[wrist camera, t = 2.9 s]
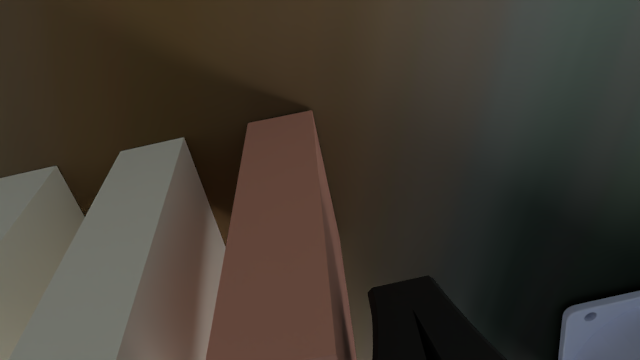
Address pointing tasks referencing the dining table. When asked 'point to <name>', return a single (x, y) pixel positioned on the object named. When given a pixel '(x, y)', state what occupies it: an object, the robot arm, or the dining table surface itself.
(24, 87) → the dining table surface
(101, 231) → the domino
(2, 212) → the domino
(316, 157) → the domino
